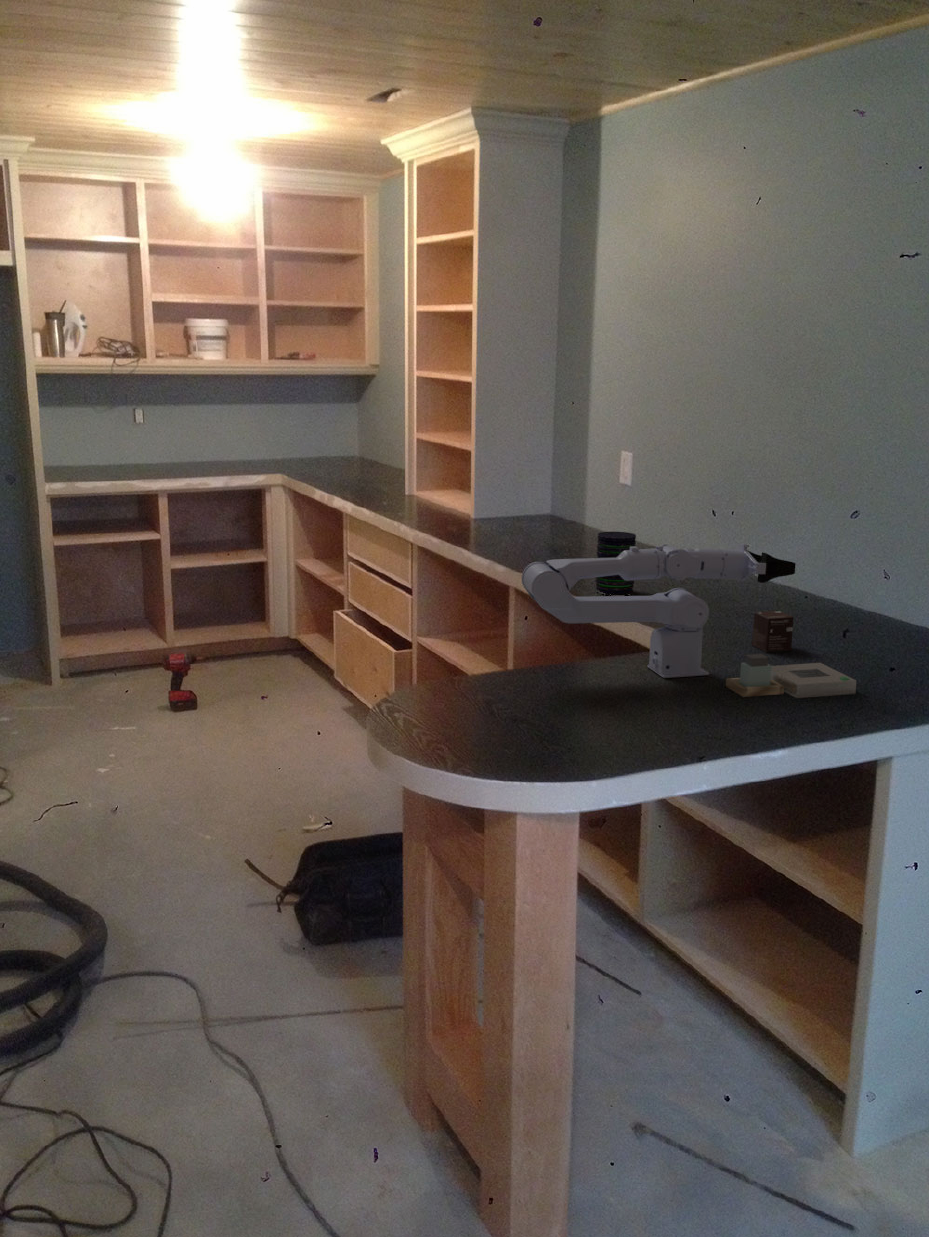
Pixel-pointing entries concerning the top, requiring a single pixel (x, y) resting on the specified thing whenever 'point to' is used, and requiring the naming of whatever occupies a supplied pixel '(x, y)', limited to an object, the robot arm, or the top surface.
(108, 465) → the top surface
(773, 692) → the tan square frame
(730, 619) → the top surface
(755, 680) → the plug
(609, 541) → the storage jar
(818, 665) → the port
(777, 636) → the box
